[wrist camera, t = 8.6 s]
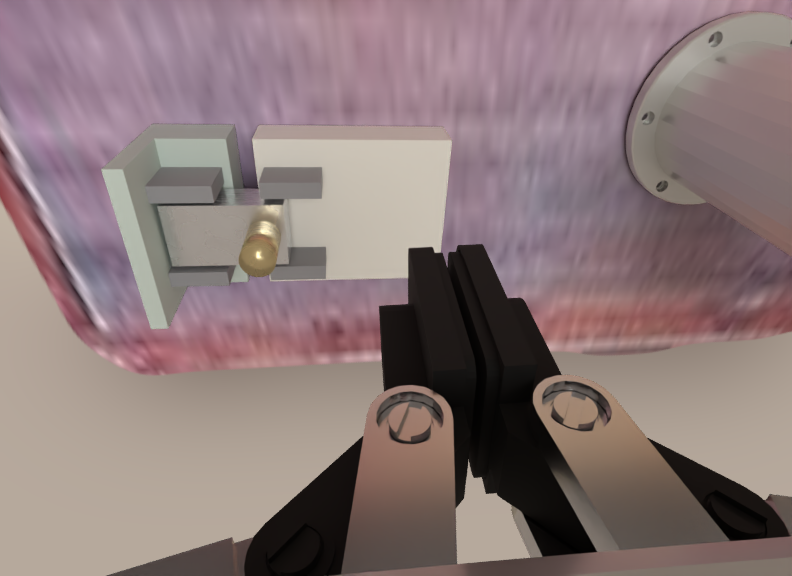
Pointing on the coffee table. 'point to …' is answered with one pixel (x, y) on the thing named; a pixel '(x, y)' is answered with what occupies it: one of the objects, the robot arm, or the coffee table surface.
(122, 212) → the door jamb
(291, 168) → the door board
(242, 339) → the coffee table surface
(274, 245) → the bolt
